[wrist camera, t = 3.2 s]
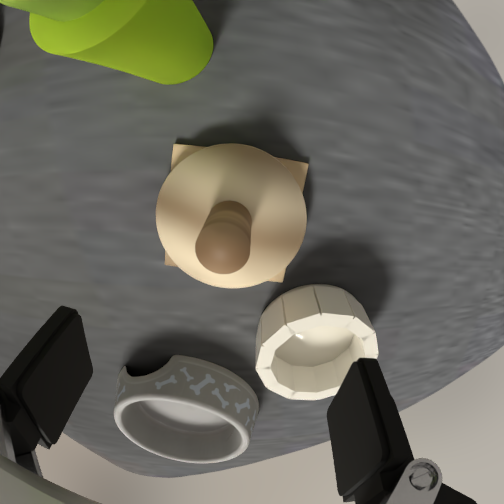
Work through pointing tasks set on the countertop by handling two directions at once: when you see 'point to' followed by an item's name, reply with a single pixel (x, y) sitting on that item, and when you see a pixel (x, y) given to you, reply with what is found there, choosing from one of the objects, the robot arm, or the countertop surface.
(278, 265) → the lid
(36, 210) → the countertop surface
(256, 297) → the countertop surface
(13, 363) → the robot arm
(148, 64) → the soap dispenser
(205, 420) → the dog bowl
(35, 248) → the countertop surface
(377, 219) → the countertop surface
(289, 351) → the bowl
